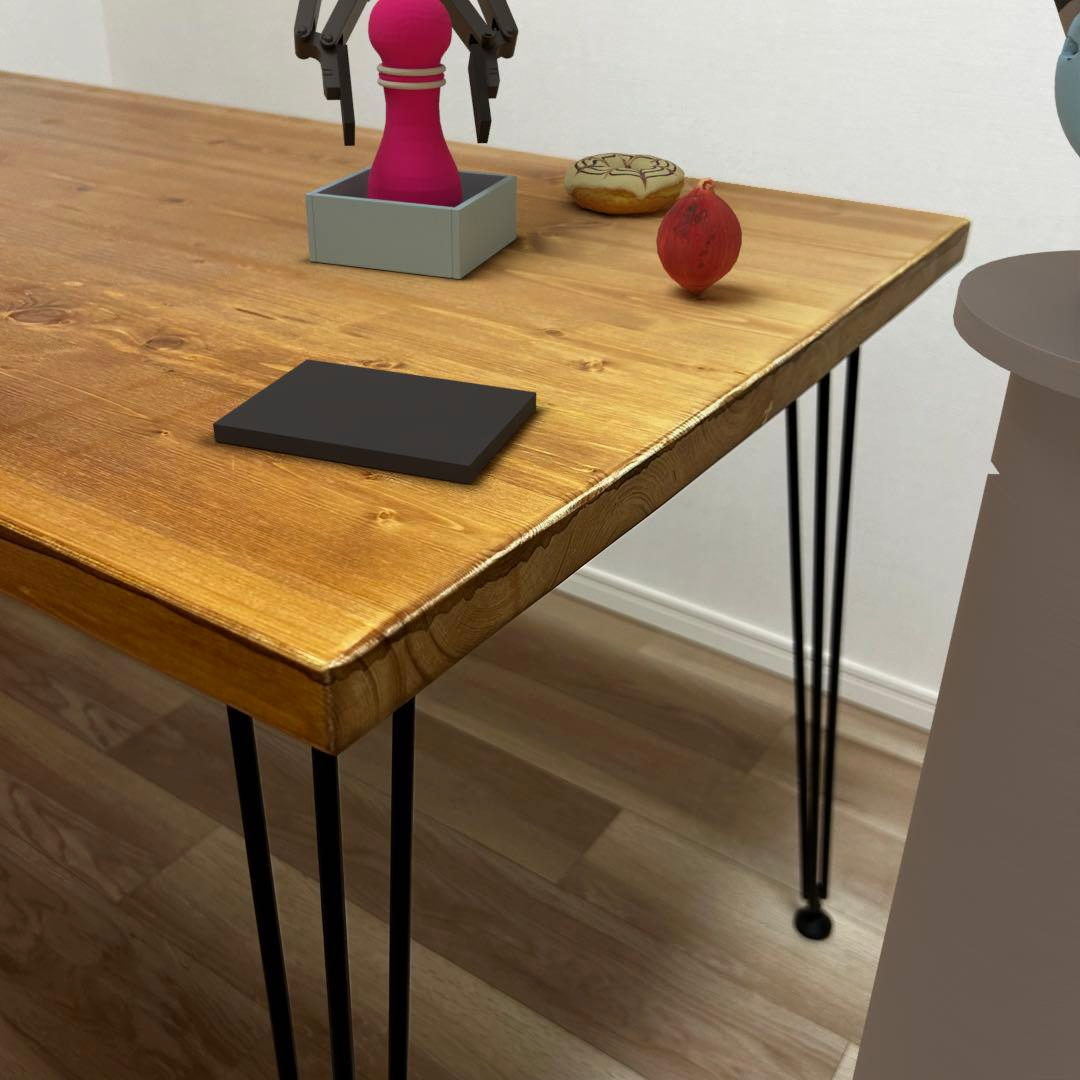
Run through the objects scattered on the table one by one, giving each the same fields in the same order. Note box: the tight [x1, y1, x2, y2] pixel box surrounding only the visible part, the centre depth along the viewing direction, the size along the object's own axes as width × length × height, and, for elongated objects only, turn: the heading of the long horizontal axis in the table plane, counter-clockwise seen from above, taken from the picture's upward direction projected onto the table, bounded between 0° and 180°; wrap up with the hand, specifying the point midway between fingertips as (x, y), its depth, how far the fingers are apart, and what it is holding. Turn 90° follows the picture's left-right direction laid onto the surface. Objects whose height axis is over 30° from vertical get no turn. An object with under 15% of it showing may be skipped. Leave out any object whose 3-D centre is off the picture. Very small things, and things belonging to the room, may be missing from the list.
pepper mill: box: [367, 0, 462, 208], centre depth 88 cm, size 7×7×20 cm
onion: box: [655, 177, 743, 295], centre depth 82 cm, size 6×6×8 cm
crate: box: [304, 164, 518, 280], centre depth 92 cm, size 12×12×5 cm
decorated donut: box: [563, 152, 685, 215], centre depth 107 cm, size 10×11×4 cm
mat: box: [212, 358, 537, 485], centre depth 63 cm, size 14×10×1 cm
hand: (417, 133), depth 86 cm, fingers open, 9 cm apart
